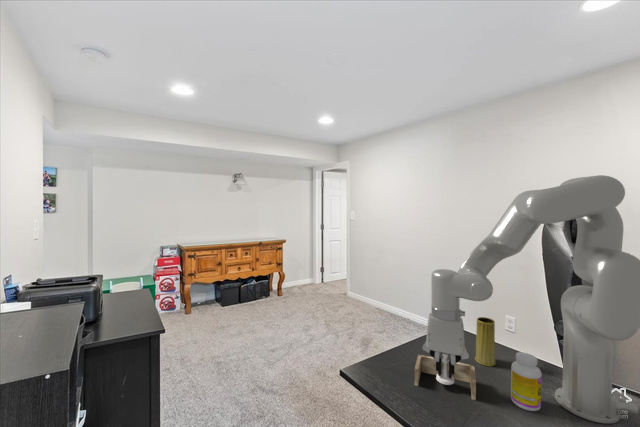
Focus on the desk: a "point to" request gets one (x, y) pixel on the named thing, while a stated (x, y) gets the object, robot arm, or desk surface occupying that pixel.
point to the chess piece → (445, 372)
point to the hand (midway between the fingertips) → (445, 374)
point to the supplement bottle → (526, 382)
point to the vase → (485, 341)
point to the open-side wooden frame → (460, 371)
